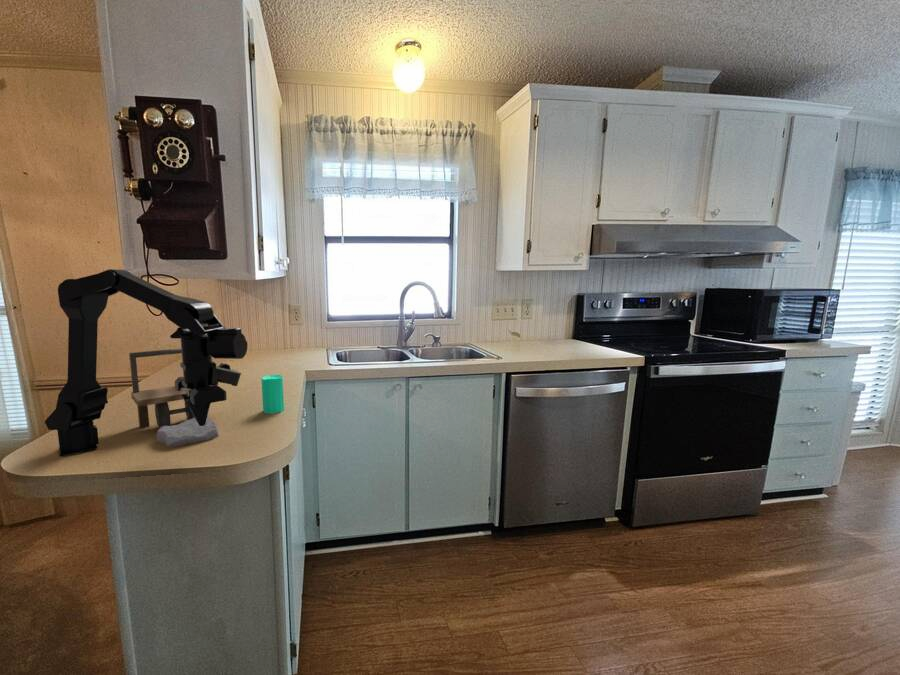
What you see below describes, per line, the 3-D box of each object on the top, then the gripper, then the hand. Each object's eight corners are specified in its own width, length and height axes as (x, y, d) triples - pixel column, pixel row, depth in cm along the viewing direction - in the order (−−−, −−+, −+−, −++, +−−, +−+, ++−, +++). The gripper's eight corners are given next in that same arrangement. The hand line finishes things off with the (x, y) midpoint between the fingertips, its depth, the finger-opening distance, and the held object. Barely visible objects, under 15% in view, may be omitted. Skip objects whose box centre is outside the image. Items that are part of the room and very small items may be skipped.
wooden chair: (141, 437, 107) (133, 358, 105) (134, 426, 115) (127, 352, 113) (219, 421, 120) (214, 350, 117) (208, 412, 128) (203, 345, 125)
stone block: (223, 443, 109) (205, 427, 115) (222, 426, 108) (205, 411, 114) (170, 459, 100) (154, 441, 106) (169, 441, 99) (153, 424, 105)
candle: (274, 406, 134) (272, 369, 133) (288, 409, 132) (286, 371, 130) (258, 411, 129) (256, 372, 127) (272, 414, 126) (270, 374, 125)
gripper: (249, 359, 94) (253, 427, 96) (223, 349, 107) (227, 409, 109) (192, 366, 86) (197, 440, 88) (171, 354, 100) (177, 418, 102)
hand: (202, 425), depth 97 cm, fingers closed
